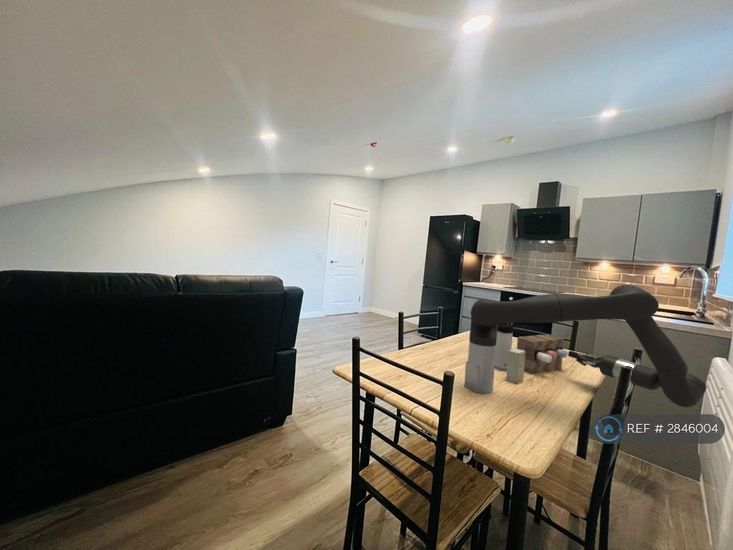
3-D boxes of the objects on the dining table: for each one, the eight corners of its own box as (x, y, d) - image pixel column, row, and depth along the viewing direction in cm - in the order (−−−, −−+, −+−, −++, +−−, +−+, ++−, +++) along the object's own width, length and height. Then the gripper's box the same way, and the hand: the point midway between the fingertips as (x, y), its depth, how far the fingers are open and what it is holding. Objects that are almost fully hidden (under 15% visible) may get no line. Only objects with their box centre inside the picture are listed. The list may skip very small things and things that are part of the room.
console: (531, 374, 124) (534, 342, 123) (515, 367, 131) (517, 337, 130) (561, 369, 132) (563, 338, 131) (544, 362, 139) (546, 334, 138)
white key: (546, 363, 119) (547, 355, 119) (536, 359, 123) (536, 352, 123) (551, 362, 121) (552, 355, 120) (541, 359, 125) (541, 351, 124)
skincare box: (516, 384, 113) (519, 353, 112) (505, 380, 116) (507, 350, 115) (523, 380, 117) (526, 350, 116) (512, 376, 120) (514, 347, 119)
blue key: (562, 358, 127) (563, 351, 127) (552, 355, 131) (553, 348, 131) (567, 357, 128) (567, 350, 128) (557, 354, 132) (557, 347, 132)
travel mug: (509, 372, 124) (512, 326, 123) (492, 368, 128) (496, 324, 127) (512, 368, 129) (515, 324, 128) (496, 364, 133) (499, 322, 132)
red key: (552, 359, 124) (552, 352, 124) (542, 356, 128) (542, 349, 128) (557, 359, 125) (557, 351, 125) (547, 355, 129) (547, 348, 129)
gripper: (631, 357, 106) (580, 343, 122) (610, 360, 100) (560, 345, 116) (628, 377, 106) (578, 360, 122) (608, 381, 101) (558, 363, 117)
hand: (569, 353), depth 119 cm, fingers closed
